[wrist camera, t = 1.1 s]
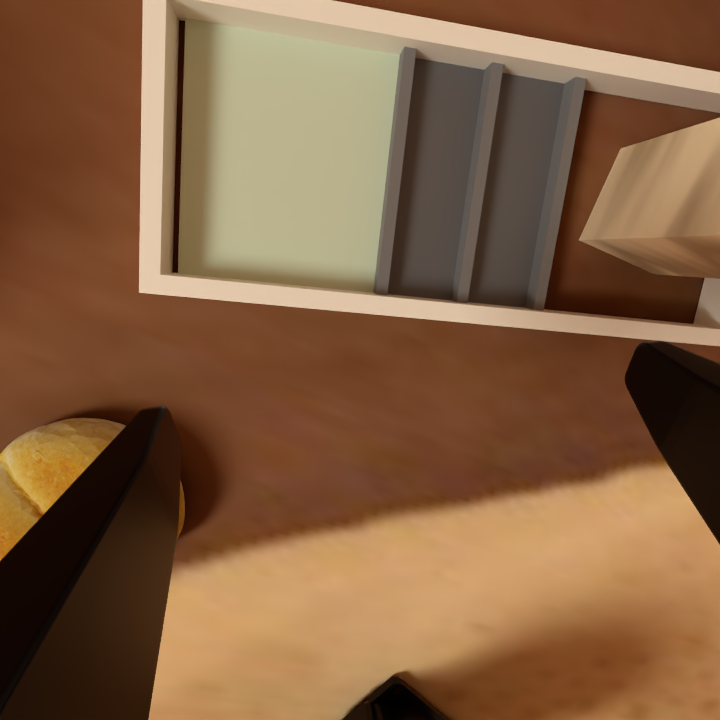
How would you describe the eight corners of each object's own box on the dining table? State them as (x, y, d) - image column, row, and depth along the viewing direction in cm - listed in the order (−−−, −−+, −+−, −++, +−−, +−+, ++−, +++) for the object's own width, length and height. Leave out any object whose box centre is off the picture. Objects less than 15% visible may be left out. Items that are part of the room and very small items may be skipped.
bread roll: (221, 495, 24) (208, 541, 21) (85, 602, 25) (46, 668, 21) (99, 372, 22) (58, 397, 19) (-48, 491, 23) (-118, 540, 19)
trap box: (764, 101, 23) (806, 88, 21) (702, 340, 26) (736, 347, 24) (158, -7, 19) (143, -35, 17) (153, 288, 22) (139, 292, 20)
